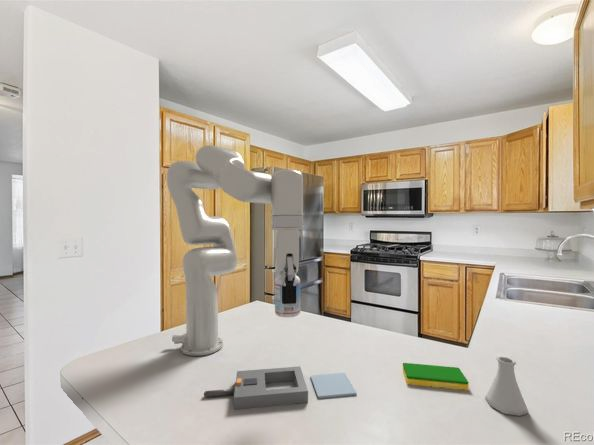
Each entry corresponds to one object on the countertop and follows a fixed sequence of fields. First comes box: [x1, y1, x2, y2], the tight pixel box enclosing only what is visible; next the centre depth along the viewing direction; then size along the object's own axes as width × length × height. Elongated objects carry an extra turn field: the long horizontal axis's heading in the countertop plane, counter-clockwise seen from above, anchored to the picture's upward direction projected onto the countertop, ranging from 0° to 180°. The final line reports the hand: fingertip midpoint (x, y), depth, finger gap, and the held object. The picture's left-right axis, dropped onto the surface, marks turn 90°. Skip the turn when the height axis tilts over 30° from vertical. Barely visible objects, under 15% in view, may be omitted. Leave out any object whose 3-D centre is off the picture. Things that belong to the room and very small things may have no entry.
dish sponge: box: [402, 362, 470, 391], centre depth 73 cm, size 7×14×2 cm, turn 78°
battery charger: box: [203, 365, 309, 410], centre depth 68 cm, size 23×11×3 cm, turn 98°
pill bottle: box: [274, 267, 301, 318], centre depth 69 cm, size 6×6×11 cm
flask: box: [484, 356, 529, 417], centre depth 63 cm, size 7×7×10 cm
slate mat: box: [310, 372, 358, 399], centre depth 71 cm, size 9×9×1 cm
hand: (287, 298), depth 69 cm, fingers closed on pill bottle, 6 cm apart
